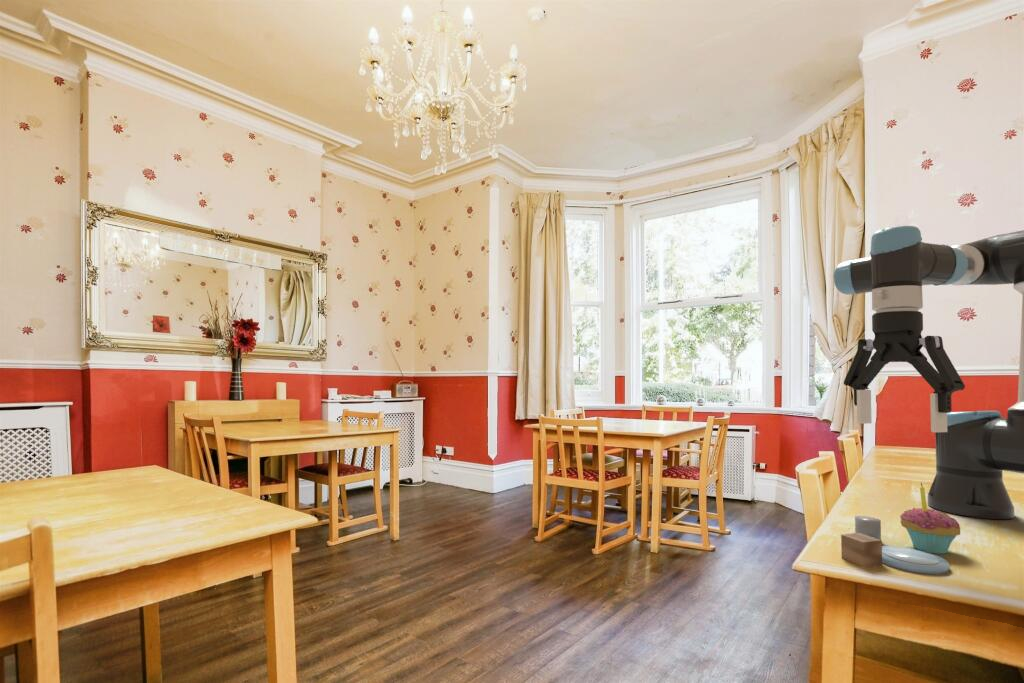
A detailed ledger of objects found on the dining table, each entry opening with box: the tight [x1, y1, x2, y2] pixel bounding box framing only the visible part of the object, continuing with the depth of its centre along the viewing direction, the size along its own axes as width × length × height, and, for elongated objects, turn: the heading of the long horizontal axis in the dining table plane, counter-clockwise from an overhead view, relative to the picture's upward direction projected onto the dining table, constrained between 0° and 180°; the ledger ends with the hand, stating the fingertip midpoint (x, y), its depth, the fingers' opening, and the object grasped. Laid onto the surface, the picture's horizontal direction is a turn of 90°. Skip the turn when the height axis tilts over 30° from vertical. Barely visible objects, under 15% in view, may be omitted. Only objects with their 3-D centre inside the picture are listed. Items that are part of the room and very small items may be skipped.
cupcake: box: [900, 482, 961, 555], centre depth 93 cm, size 9×8×12 cm
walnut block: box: [840, 533, 883, 568], centre depth 86 cm, size 4×4×4 cm
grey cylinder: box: [854, 515, 882, 540], centre depth 97 cm, size 4×4×4 cm
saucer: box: [882, 545, 950, 575], centre depth 86 cm, size 10×10×1 cm
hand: (899, 427), depth 94 cm, fingers open, 13 cm apart
